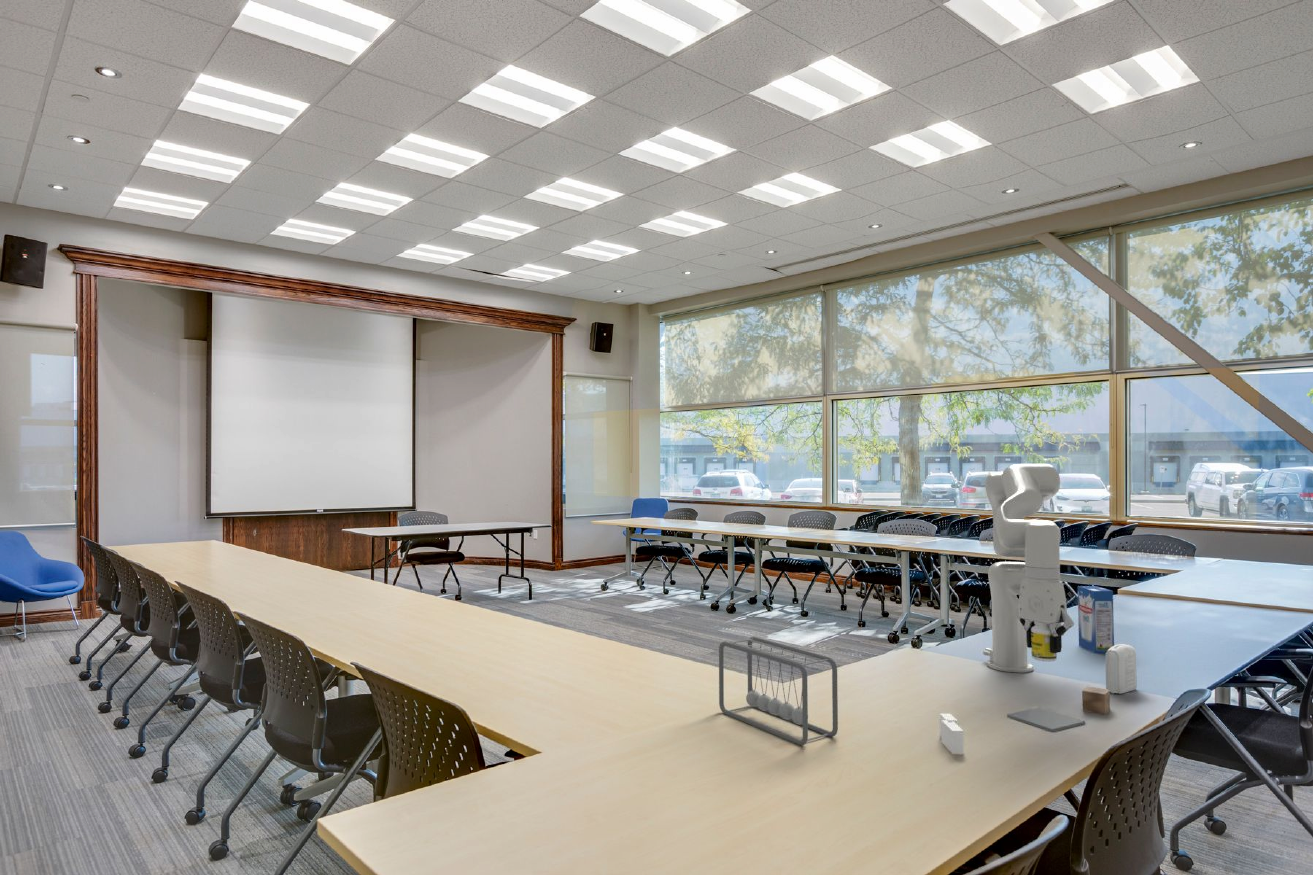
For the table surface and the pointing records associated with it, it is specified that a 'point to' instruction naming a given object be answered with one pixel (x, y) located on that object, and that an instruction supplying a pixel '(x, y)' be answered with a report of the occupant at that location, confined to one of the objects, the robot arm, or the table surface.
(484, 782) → the table surface
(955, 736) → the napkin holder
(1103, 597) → the milk carton
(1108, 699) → the walnut block
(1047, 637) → the supplement bottle
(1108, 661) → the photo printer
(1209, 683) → the table surface
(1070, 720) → the slate coaster
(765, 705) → the newton's cradle
